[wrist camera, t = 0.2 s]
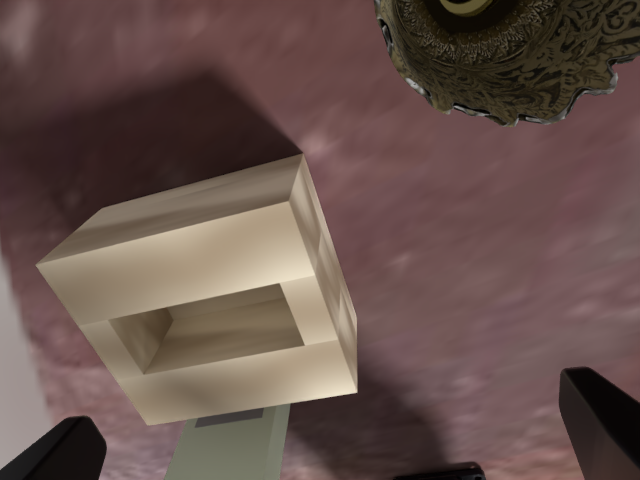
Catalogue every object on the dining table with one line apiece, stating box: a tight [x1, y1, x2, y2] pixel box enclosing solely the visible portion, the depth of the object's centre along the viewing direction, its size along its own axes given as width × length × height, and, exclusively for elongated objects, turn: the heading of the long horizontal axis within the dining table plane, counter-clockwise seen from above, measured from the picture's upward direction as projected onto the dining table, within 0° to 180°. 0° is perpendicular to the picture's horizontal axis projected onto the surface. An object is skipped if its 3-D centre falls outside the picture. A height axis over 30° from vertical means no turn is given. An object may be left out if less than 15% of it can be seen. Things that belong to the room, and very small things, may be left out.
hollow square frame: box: [36, 153, 357, 426], centre depth 22 cm, size 10×11×6 cm
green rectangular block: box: [164, 403, 291, 480], centre depth 26 cm, size 2×6×8 cm, turn 106°
